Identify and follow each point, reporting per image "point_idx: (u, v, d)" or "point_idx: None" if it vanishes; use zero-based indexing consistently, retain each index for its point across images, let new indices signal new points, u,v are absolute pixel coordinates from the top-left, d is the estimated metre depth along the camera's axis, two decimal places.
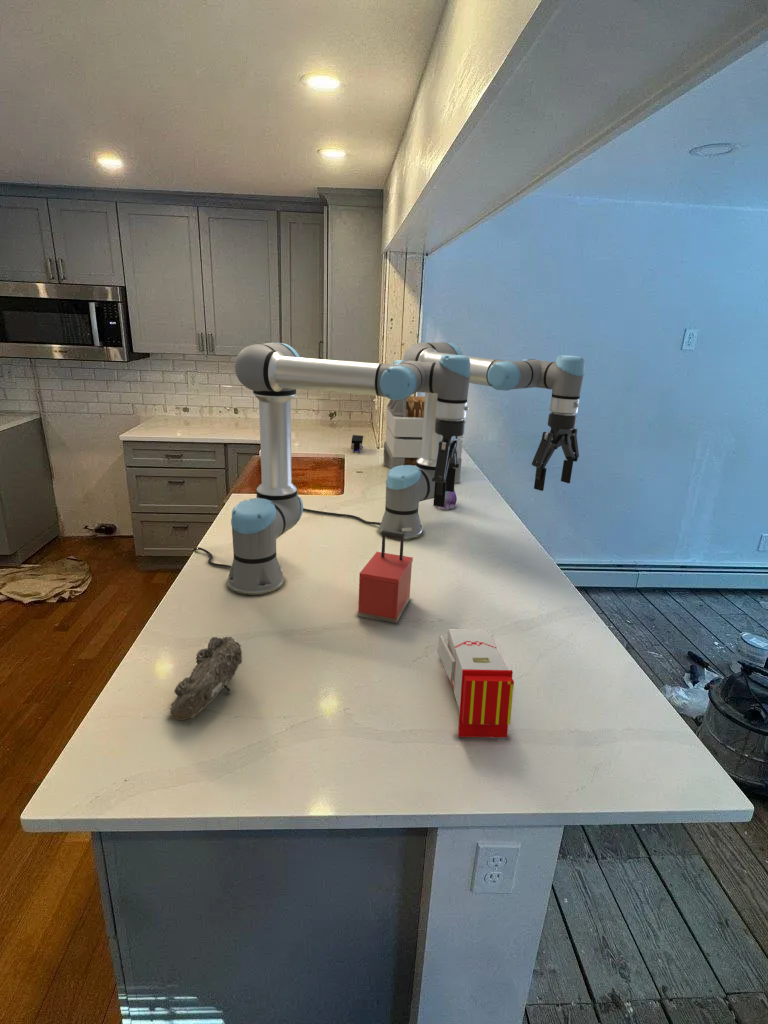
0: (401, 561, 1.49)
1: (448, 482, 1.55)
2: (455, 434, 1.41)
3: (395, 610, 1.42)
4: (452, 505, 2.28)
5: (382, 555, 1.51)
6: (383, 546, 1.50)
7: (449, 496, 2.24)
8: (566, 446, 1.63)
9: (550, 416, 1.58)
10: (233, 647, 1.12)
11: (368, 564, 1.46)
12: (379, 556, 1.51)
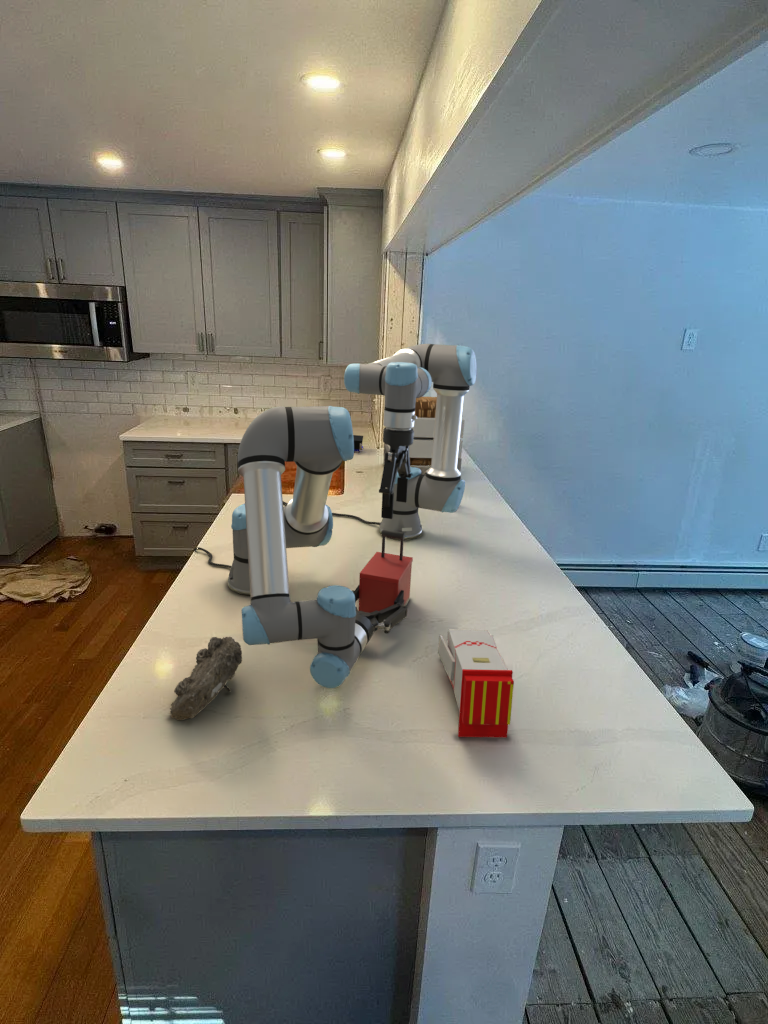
0: (401, 561, 1.49)
1: None
2: None
3: None
4: None
5: (382, 555, 1.51)
6: (383, 546, 1.50)
7: None
8: (402, 463, 1.45)
9: (387, 433, 1.37)
10: (233, 647, 1.12)
11: (368, 564, 1.46)
12: (379, 556, 1.51)
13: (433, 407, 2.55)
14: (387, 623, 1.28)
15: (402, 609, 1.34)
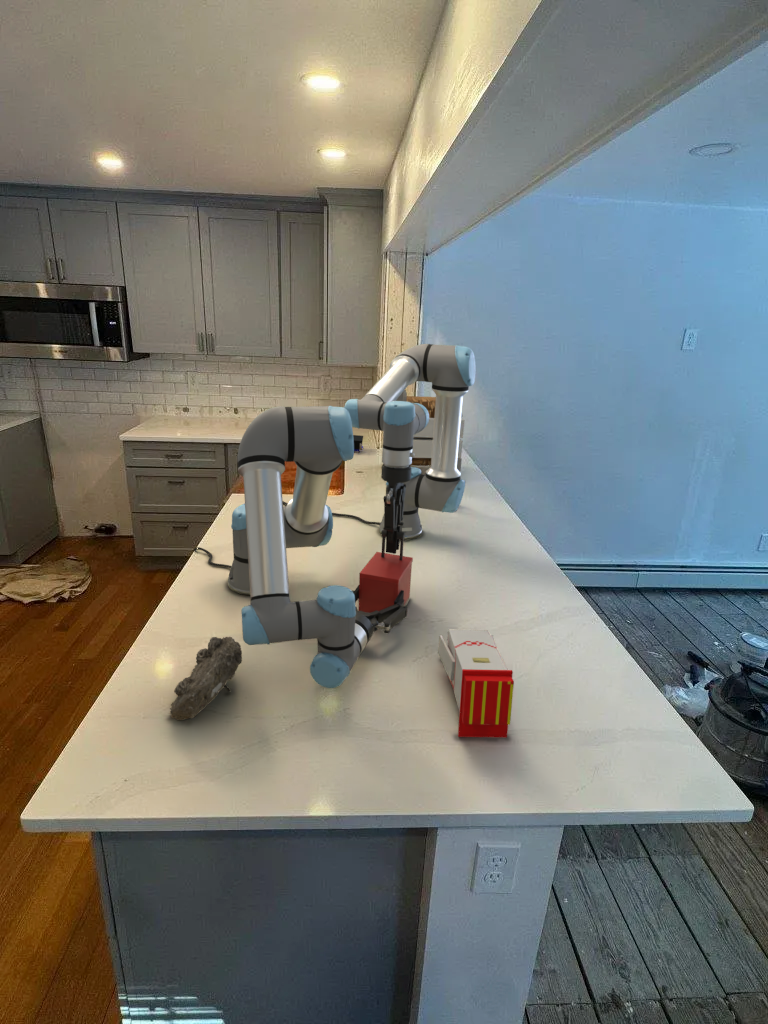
0: (401, 561, 1.49)
1: None
2: None
3: None
4: None
5: (382, 555, 1.51)
6: (383, 546, 1.50)
7: None
8: None
9: (386, 470, 1.40)
10: (233, 647, 1.12)
11: (368, 564, 1.46)
12: (379, 556, 1.51)
13: (433, 407, 2.55)
14: (387, 623, 1.28)
15: (402, 609, 1.34)
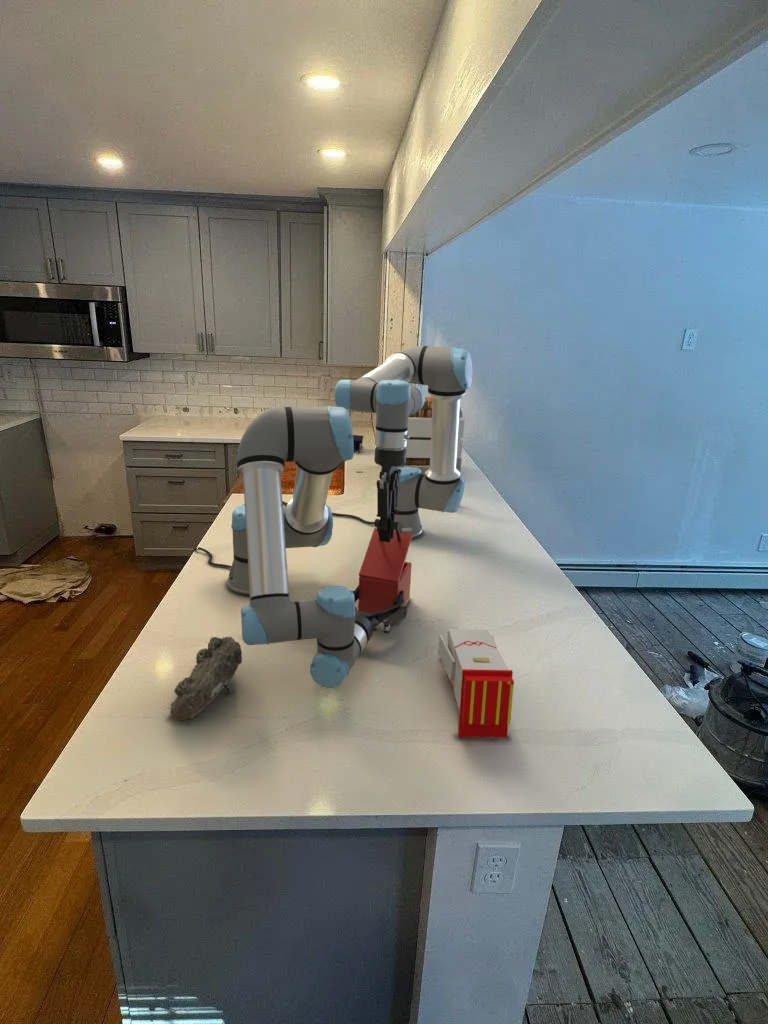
0: (400, 544, 1.45)
1: None
2: None
3: None
4: None
5: None
6: (379, 532, 1.44)
7: None
8: None
9: (379, 453, 1.32)
10: (233, 647, 1.12)
11: (366, 556, 1.44)
12: (377, 537, 1.47)
13: None
14: (387, 623, 1.28)
15: (402, 609, 1.34)
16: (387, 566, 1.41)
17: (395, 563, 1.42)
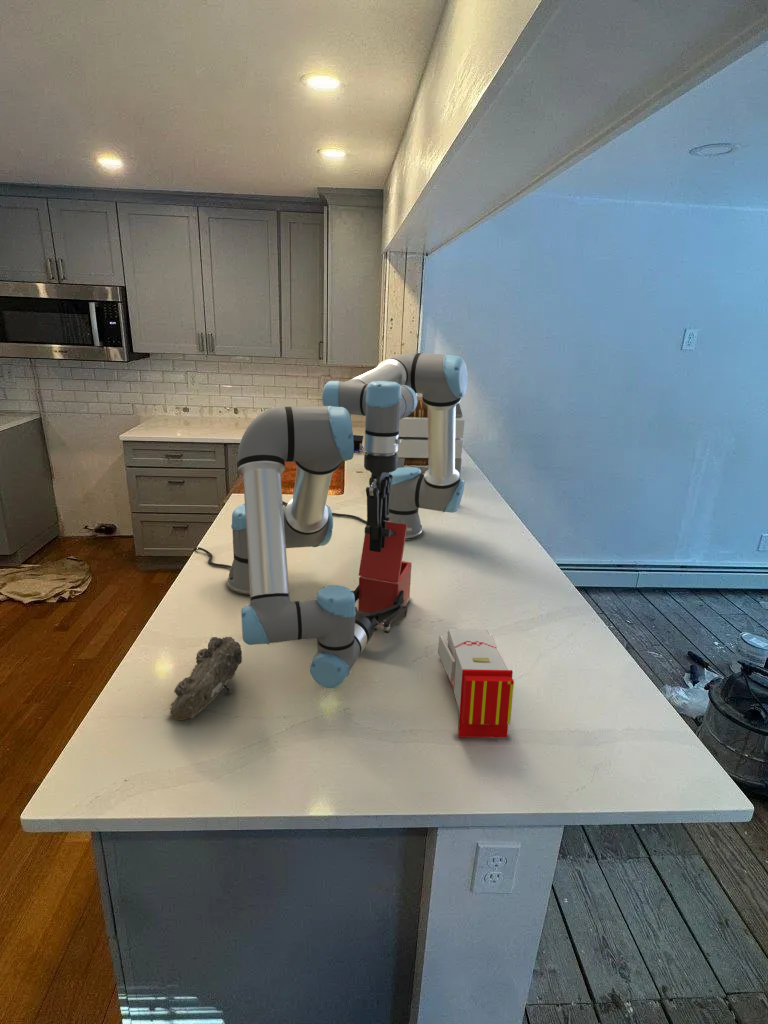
0: (395, 538, 1.39)
1: None
2: None
3: None
4: None
5: None
6: None
7: None
8: None
9: (368, 458, 1.25)
10: (233, 647, 1.12)
11: (363, 553, 1.41)
12: None
13: None
14: (387, 623, 1.28)
15: (402, 609, 1.34)
16: (385, 565, 1.39)
17: (393, 561, 1.39)
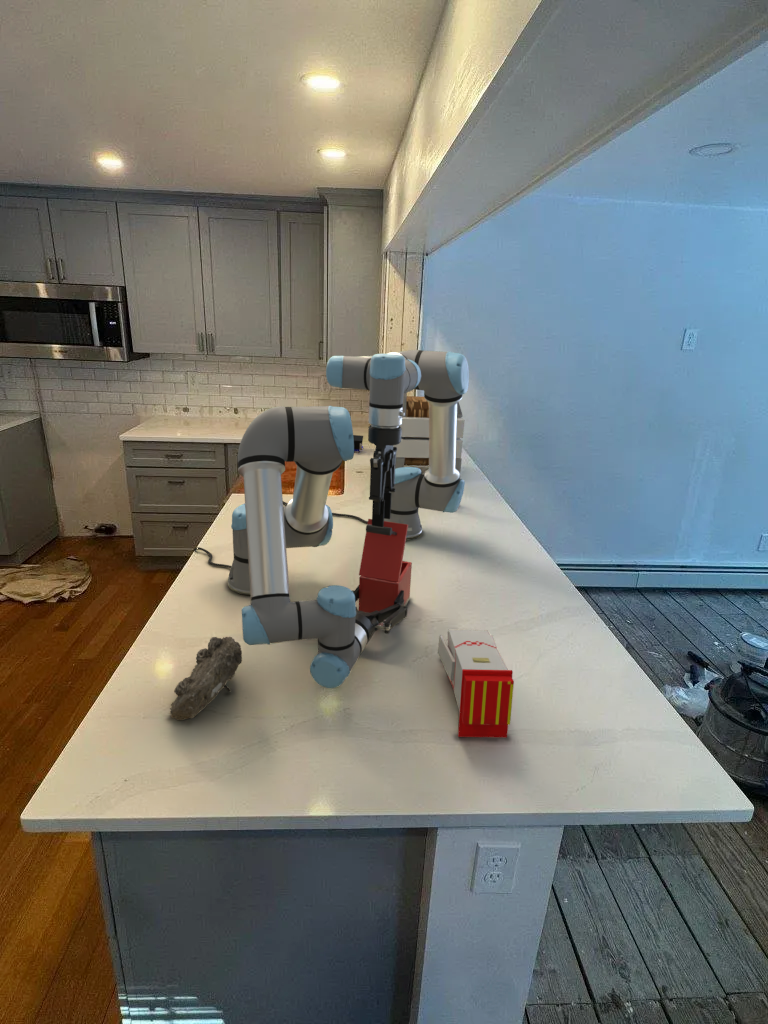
0: (396, 537, 1.40)
1: None
2: None
3: None
4: None
5: None
6: None
7: None
8: None
9: (373, 431, 1.25)
10: (233, 647, 1.12)
11: (364, 553, 1.41)
12: None
13: None
14: (387, 623, 1.28)
15: (402, 609, 1.34)
16: (386, 565, 1.40)
17: (393, 561, 1.39)
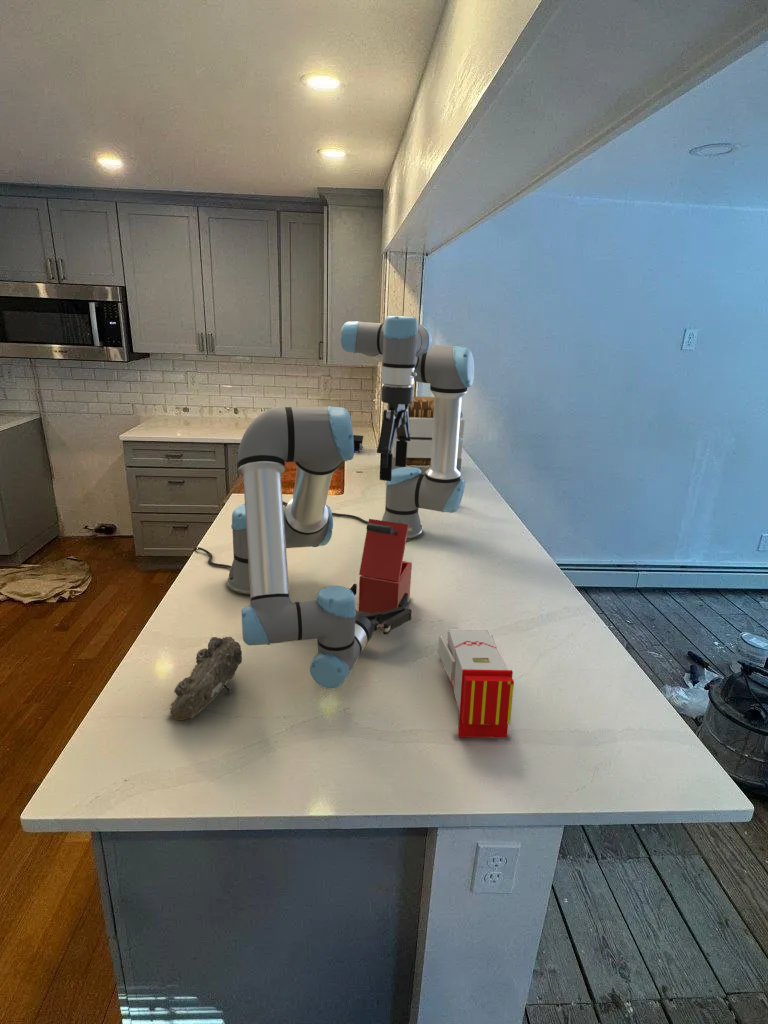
0: (396, 537, 1.40)
1: None
2: None
3: None
4: None
5: (375, 531, 1.41)
6: None
7: None
8: (401, 424, 1.39)
9: (386, 390, 1.30)
10: (233, 647, 1.12)
11: (364, 553, 1.42)
12: None
13: (433, 407, 2.55)
14: (386, 624, 1.27)
15: (406, 612, 1.33)
16: (386, 564, 1.40)
17: (394, 561, 1.40)
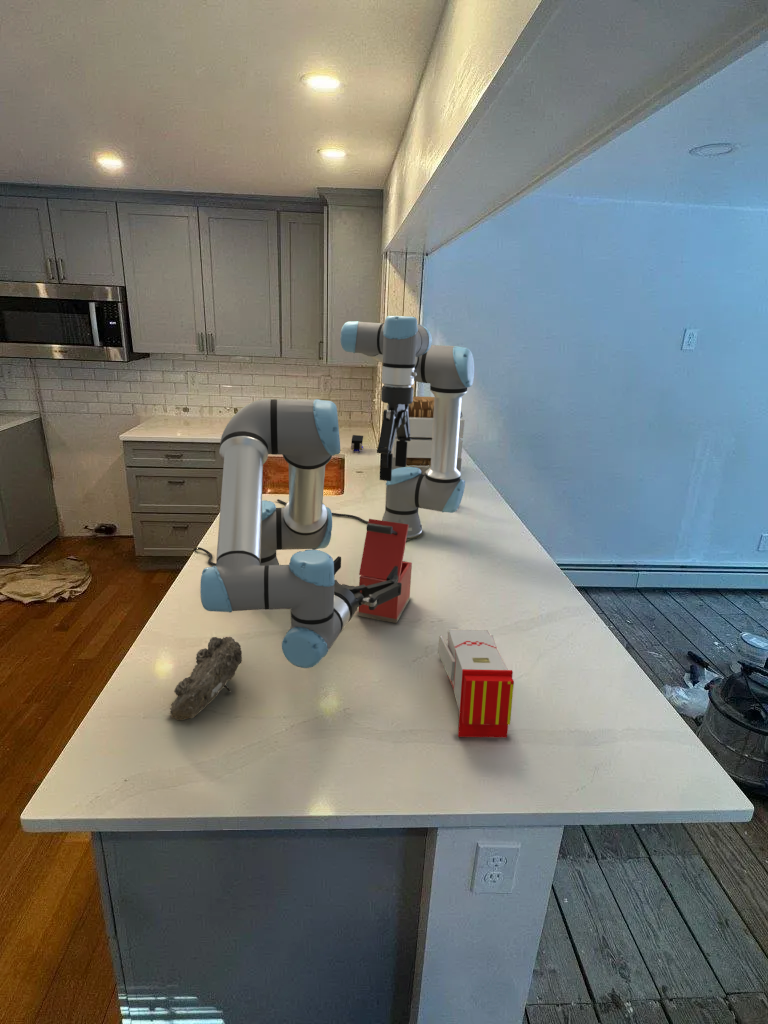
0: (396, 537, 1.40)
1: None
2: None
3: (395, 610, 1.42)
4: None
5: (375, 531, 1.41)
6: None
7: None
8: (401, 424, 1.39)
9: (386, 390, 1.30)
10: (233, 647, 1.12)
11: (364, 553, 1.42)
12: None
13: (433, 407, 2.55)
14: (372, 598, 1.12)
15: (395, 585, 1.18)
16: (386, 564, 1.40)
17: (394, 561, 1.40)
